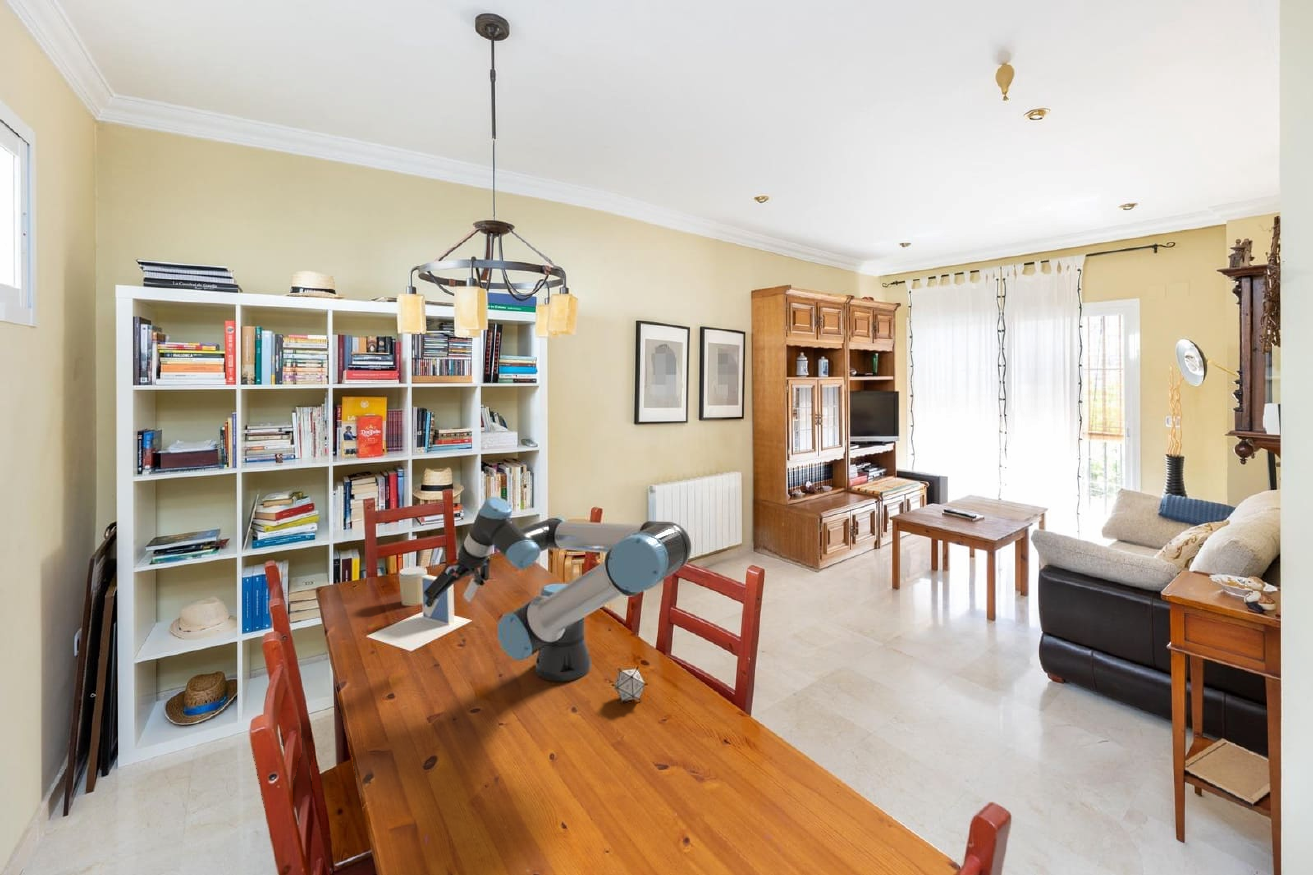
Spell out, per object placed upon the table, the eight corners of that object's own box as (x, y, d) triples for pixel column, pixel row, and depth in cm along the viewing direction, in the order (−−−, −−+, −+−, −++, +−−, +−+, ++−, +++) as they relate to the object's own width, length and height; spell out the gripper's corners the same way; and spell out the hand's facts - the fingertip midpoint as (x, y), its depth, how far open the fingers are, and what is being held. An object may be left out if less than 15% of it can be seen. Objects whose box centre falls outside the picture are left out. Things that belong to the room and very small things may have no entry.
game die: (621, 714, 143) (598, 680, 143) (644, 690, 148) (622, 658, 149) (637, 713, 135) (613, 677, 136) (661, 688, 141) (637, 654, 142)
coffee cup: (433, 601, 203) (432, 569, 202) (410, 610, 196) (409, 576, 194) (417, 596, 208) (416, 564, 207) (393, 604, 201) (392, 571, 199)
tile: (454, 622, 185) (453, 580, 183) (448, 625, 183) (447, 582, 181) (428, 615, 190) (427, 574, 189) (422, 617, 188) (421, 576, 187)
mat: (472, 622, 187) (472, 620, 187) (411, 653, 165) (411, 651, 165) (429, 610, 196) (429, 608, 196) (365, 638, 174) (365, 636, 174)
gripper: (502, 530, 163) (474, 584, 170) (429, 548, 142) (400, 609, 149) (518, 547, 161) (489, 602, 167) (446, 569, 139) (415, 630, 146)
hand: (447, 605), depth 158 cm, fingers open, 13 cm apart
